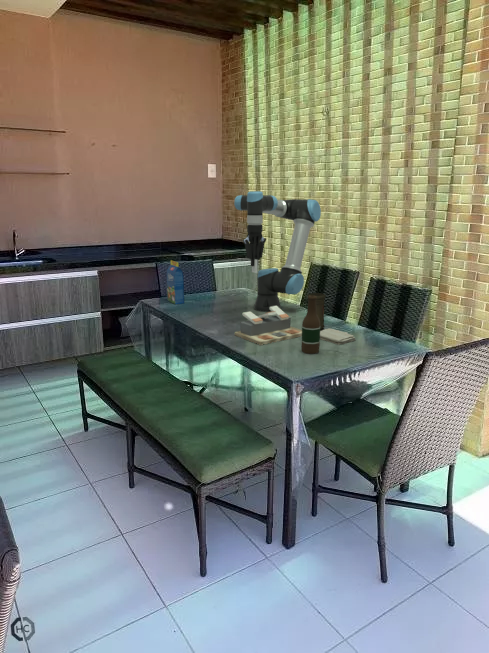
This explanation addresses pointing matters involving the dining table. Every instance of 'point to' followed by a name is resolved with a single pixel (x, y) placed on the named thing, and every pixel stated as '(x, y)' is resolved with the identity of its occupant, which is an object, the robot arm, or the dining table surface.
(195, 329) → the dining table surface
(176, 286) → the blue food package
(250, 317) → the switch
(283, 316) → the switch
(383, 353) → the dining table surface
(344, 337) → the washcloth
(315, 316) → the beer bottle
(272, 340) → the switch board
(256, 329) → the switch housing
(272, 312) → the switch middle
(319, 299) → the container
